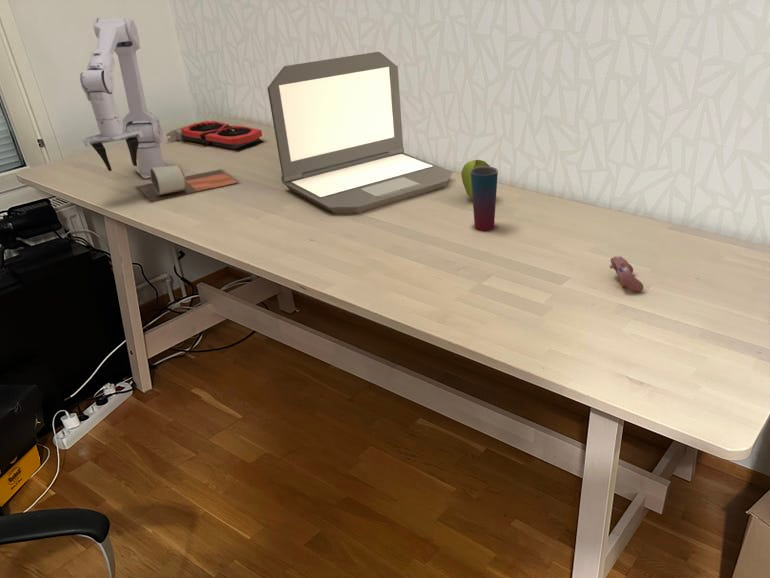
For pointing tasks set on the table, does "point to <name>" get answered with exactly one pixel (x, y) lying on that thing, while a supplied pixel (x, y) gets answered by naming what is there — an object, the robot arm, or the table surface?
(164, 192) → the ceramic mug
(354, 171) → the laptop
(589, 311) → the table surface
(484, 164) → the apple
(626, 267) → the reddish brown lumpy piece
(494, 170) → the cup
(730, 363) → the table surface
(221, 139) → the graphics card
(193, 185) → the walnut board
